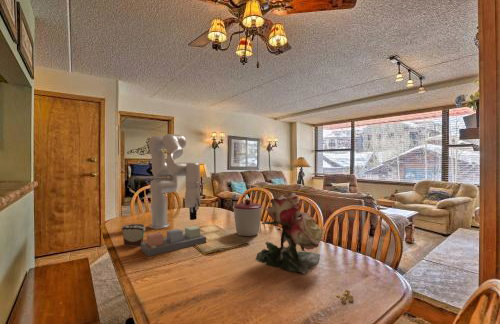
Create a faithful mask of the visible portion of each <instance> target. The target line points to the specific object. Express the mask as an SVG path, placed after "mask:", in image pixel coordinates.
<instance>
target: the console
mask: <svg viewBox="0 0 500 324" xmlns="http://www.w3.org/2000/svg"><path fill="white" fill-rule="evenodd" d="M204 242H206V243H207V236H205V235H203V234H201V233H200V237H197V238H192V239H188V238H187V237H185V233H183V241H178V242H174V243H170V242H168V241H167V237H163V245H160V246H156V245H153V246H151V248H150V247H149V246H148V245H147V241H145V242H144V241H143V243H141V246H140V250H141V251H142V252H143V253H144V254H145V255H146V256H147V257H152V256H156V255H159V254H160V255H161V254H165V253H169V252H173V251H176V250H180V249H186V248H190V247H193V246H197V245H196V244H198V245H201V244H200V243H202V244H205V243H204Z"/></svg>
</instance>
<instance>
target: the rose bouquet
mask: <svg viewBox="0 0 500 324" xmlns="http://www.w3.org/2000/svg"><path fill="white" fill-rule="evenodd" d="M300 201H301V198H300V196H298V195H297V194H296V192H292V191H289V192H286V193H285V194H281V195H280V197H278V196H274V198H270V202H269V203H270V204H271V205H270V206H267V207H264V209H265V210H266V211H267V214H268V216H269V217H270V218H271V219H272V221H264V222H262V223H261V225H277V224H279V225H280V226H281V228H280V227H279V228H277V231H281V234H280V247H278V245H275V244H273V242H270V241H267V240H266V242H265V244H266V248H263V249H262V250H261V251H260V252H258V253H256V257H255V260H256V261H257V262H258V263H261V264H263V263H265V265H266V266H270V267H274V268H281V269H283V270H287V271H289V272H294V273H297V272H299V273H301V274H303V275H306V274H307V272H311V273H313V271H311V268H310V267H311V266H317V265H318V263H319V262H320V257H321V254H320V253H313V252H310V251H308V250H314V249H315V248H318V247H319V243H320V241H321V240H322V236H323V232H324V229H323V228H320V226H319V224H317V221H316V220H315V219H314V217H312V216H311V215H310V214H309V213H307V212H302V211H301V210H300V208H301V205H299V204H300ZM285 242H287V243H288V246H287V247H286V246H284V243H285ZM297 245H299V246H300V249H301V250H299V251H298V250H297ZM306 250H307V251H306Z"/></svg>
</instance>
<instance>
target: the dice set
mask: <svg viewBox="0 0 500 324" xmlns="http://www.w3.org/2000/svg"><path fill="white" fill-rule="evenodd" d="M350 293H351V290H350V289H344V291H343V295H342V296H341V294H336V295H335V297H336V298H339V299H340V300H341V303H343V304H347V299H348V301H350V302H353V301H354V295H352V294H350Z"/></svg>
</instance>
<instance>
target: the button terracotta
mask: <svg viewBox="0 0 500 324" xmlns="http://www.w3.org/2000/svg"><path fill="white" fill-rule="evenodd" d="M163 238H164V235H163V234H162V233H161V232H154V233H149V234H146V242H147V245H148V246H149V247H150V248H151V246H153V245H156V246H160V245H163Z"/></svg>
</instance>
